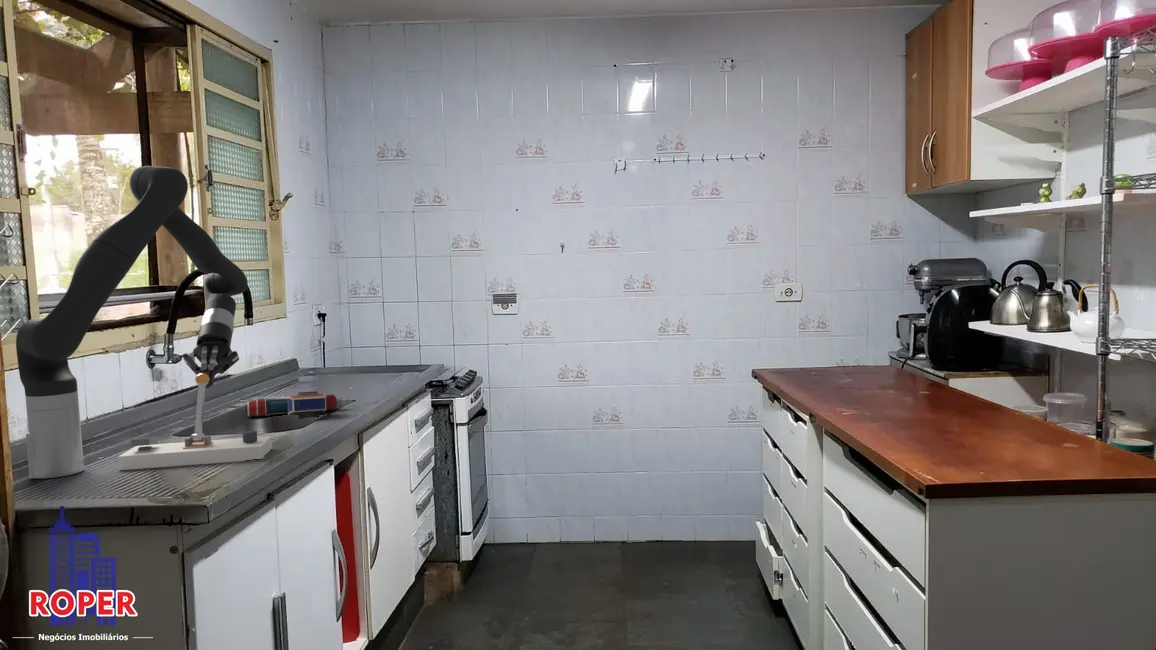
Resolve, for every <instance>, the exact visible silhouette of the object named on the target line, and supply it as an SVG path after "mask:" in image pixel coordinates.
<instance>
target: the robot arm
mask: <svg viewBox="0 0 1156 650" xmlns="http://www.w3.org/2000/svg"><path fill="white" fill-rule="evenodd" d="M188 186H189V184H188V179H187V177H186V176H185V174H184V173H183V172H182V171H180V170H178V169H176V168H174V167H173V168H172V167H167V166H157V165H144V166H139V167H137V168H136V169H135V170H133V172H132V173H131V175H130V177H129V190H130V191H131V193H132V195H133V196H134V198H135V199H136V201H138V203H137V204H136V206H135V207H133V209H132V210H131V211H130V212H128V213H127V214H125V215H124V216H123V217H121V218H119V219H118V220H117V221H115V222H113V223H112V224H110V225H109V226H107V227H106V228H104V229H103V230H101V231H100V232H99V233H98V234H97V235H96V236H95V237H94V238H93V239H92V241H91V242H90V243H89V244H88V246H87V247H86V248H85V250H84V252H82V254H81V256H80V257H79V259H78V261H77V263H76V265H75V267H74V270H73V274H72V277H71V281H70V283H69V286H68V288H67V290H66V292H65V293H64V296H62V298H61V299H60V301H58V303H57V304H56V305H55V306H54V308H53V309H52V310H51V311H50V312H49V313H48V315H46V316H45V317H36V318H32V319H29V320H27V321H25V322H24V323H23V324H22V325H21V326H20V327H19V329H18V331H17V334H16V336H15V337H16V338H15V349H16V351H15V352H16V358H17V359H16V360H17V367H18V373H19V379H20V383H22V386H23V388H24V395H25V398H24V399H25V407H26V417H27V430H28V431H27V432H26V434H25V438H26V448H27V449H26V452H27V461H28V464H27V465H28V476H29V479H31V480H32V479H52V478H59V477H64V476H65V477H66V476H71V475H74V474H78V473H80V472H82V471H84V469H85V466H84V461H85V460H84V455H83V454H84V452H83V440H82V439H83V438H82V427H81V426H82V425H81V416H80V415H81V414H80V405H79V404H80V402H79V392H78V391H79V388H78V380H77V378H76V377H75V376H74V374H73V373H72V371H71V370H70V369H71V368H70V366H69V362H68V361H69V360H68V358H69V357H71V356H72V355H73V354H75V352H76V351H77V349H78V348H79V346H80V345H81V343H82V342H83V339H84V337H86V335H87V332H88V331H89V328H90V327H91V325H92V323H93V321H94V319H95V318H96V316H97V314H98V313H99V311H100V310H101V309H102V307H103V306H104V305H105V303H106V302H107V301H108V299H109V298H110V297H111V295H113V293H114V292H115V290H116V288H117V287H118V286H119V284H120V283H121V282H122V281H123V279H124V278H125V277H126V275H127V274H128V273H129V271H130V270H131V269H132V267H133V266H134V264H135V262H136V261H137V260H138V258H139V257H140V255H141V253H142V252H143V251H144V250H145V248H146V247H147V245H148V244H149V242H151V240H152V238H153V237H154V236H155V235H156V233H157V232H158V231H159V229H160V228H161V227H162V226H163V227H164V229H165V230H166V231H167V232H168V233H169V235H171V236H172V237H173V238H174V240H176V242H177V243H178V244H179V246H180V247H181V248H182V250H183V251H184V252H185V254H186V255H187V256H188V258H189V259H190V261H191V262H192V263H193V265H194V266H195V268H196V269H197V270H198V271H199V272H201V273H202V274H203V273H204V274H207V275H206V276H205V278H204V279H203V281H202V288H203V291H204V298H205V308H204V312H203V316H202V319H201V321H200V326H199V330H198V335H197V341H196V345H195V347H194V348H193V351H192V352H190V353H186V352H185V353H183V354H182V359H183V360H184V363H185V364H186V365H187V366H188V367H189V369H190V370H191V371H192V372H193V373H194V374H195V375H196V376H197V375H198V374H200V373H206V374H207V375H208V376H209V378H210V380H209V383H208V384H207V385H206V386H205V389H211V387H212V386H214V382H215V377H216V375H218V374H219V375H222V374H224V373H225V372H226V371H229V369H230V368H231V367H232V366H234V365H235V364H236V363H237V362H239V360H240V357H239V353H238V352H237V351H236V350H234V351H233V350H232V348H231V344H232V340H233V334H234V330H235V329H234V328H235V327H234V326H235V322H234V321H235V314H236V310H237V303H236V300H235V299H234V298H233V296H237V295H240V294H243V293H245V292H246V290H247V288H248V285H249V284H248V278H247V276H246V274H245V272H244V271H243V269H241V268H240V267H239V266H238V265H236V264H235V263H234V262H233V261H232V260H230V259H229V258H228V257H227V256H225V254H223V253H222V251H221V249H219V247H218V246H217V244H216V242H215V241H214V239H213V238H212V237H211V236H210V235H209V234H208V233H207V231H206V230H205V229H203V228H202V227H201V226H200V225H199V224H198V223H196V222H195V220H193V219H192V218H191V217H189V216H188V215H187V214H186V212H184V211H183V210H182V209H181V208H180V206H181V204H182V203H183V202H184V200H185V198H186V196H187V195H188V194H187V193H188V190H189V189H188ZM195 358H196V359H197V360H198V361H199V362H200V366H199V365H198V364H197V363H196V359H195Z"/></svg>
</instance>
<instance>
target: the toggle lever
mask: <svg viewBox="0 0 1156 650" xmlns="http://www.w3.org/2000/svg"><path fill="white" fill-rule="evenodd" d="M194 379H195V380H194V381H195V383H196V384H197V399H196V409H195V410H196V411H195V422H194V433H191V434H190V437H191V442H192V443H197V442H204V437H205V436H206V434H205V433H204V432H203V424H204V423H203V422H204V411H205V410H204V409H205V397H206V388H205V386H206V385H207V384H208V383H209V380H210V378H209V376H208V375H207V374H206V373H200V374H198V375H196V376H195V378H194Z"/></svg>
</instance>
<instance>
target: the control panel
mask: <svg viewBox="0 0 1156 650" xmlns="http://www.w3.org/2000/svg"><path fill="white" fill-rule="evenodd" d="M211 435H212V434H209V435H207V434H206V435H205V437H204V442H197V443H192V442H191V436H186V437H185V438H184V441H183V442H170V443H168V442H167V443H157V444H155V445H143V446H133V447H132V448H130V449H129V450H127V451H125V452H124V453H122V454H120V455H118V457H117V459H118V470H119V471H127V470H128V471H129V470H142V469H153V468H157V469H158V468H169V467H181V466H194V465H207V464H209V465H210V464H220V463H224V464H225V463H236V462H246V461H245V460H250V459H254V458H262V457H263V456H264V455H265V454H266V453H268V452H269V451H270V450H271V449H272V450H273V439H272V436H271V435H270V436H268V435H267V436H257V441H254V442H243V437H242V438H241V437H240V438H238V437H237V438H228V439H227V438H225V439H212V437H211ZM272 450H271V451H272ZM271 451H270V452H271ZM270 452H269V453H270ZM269 453H268V454H269Z"/></svg>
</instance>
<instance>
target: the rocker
mask: <svg viewBox="0 0 1156 650" xmlns="http://www.w3.org/2000/svg"><path fill="white" fill-rule="evenodd" d="M130 444H131V447H136V446H143V445H155V444H158V437H151V438H139V439H138V438H137V439H131V443H130Z"/></svg>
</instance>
